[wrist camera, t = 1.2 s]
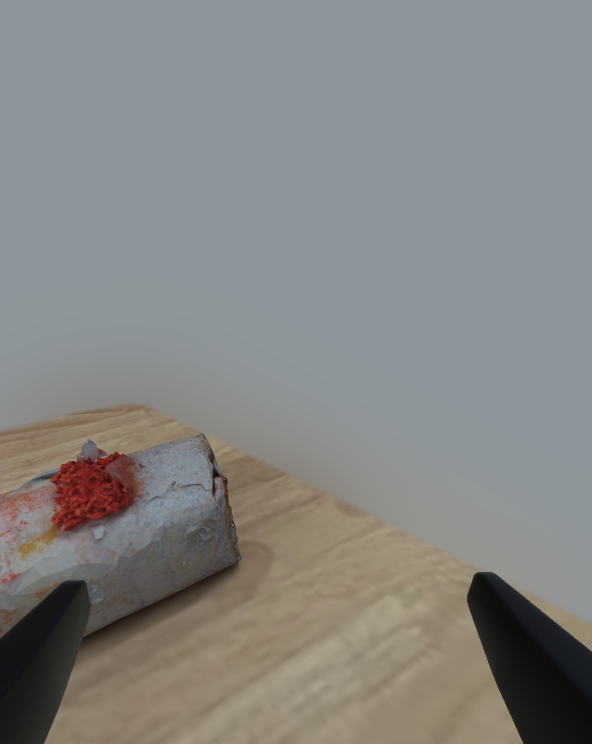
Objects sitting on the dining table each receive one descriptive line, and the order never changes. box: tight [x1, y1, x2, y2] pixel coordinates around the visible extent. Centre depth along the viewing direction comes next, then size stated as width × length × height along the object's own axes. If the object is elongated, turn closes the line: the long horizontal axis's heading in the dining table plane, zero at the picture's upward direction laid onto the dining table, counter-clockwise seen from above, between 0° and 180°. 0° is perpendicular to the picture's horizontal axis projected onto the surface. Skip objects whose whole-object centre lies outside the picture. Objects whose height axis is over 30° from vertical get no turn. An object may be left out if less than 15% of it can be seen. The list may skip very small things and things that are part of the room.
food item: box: [0, 433, 241, 638], centre depth 21 cm, size 14×8×10 cm, turn 118°
